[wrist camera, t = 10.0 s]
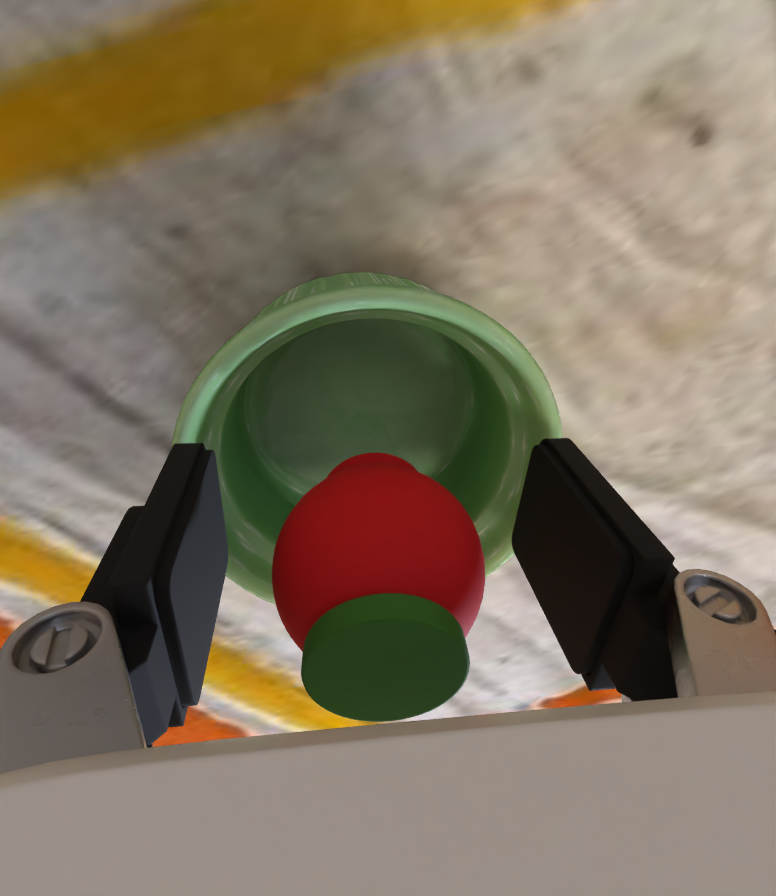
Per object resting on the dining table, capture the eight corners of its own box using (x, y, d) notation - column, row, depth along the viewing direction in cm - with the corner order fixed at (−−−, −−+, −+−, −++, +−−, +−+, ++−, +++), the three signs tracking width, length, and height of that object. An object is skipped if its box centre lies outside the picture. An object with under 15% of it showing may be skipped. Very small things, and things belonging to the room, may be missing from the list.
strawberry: (281, 414, 10) (240, 584, 6) (470, 418, 11) (541, 582, 7) (290, 556, 13) (262, 750, 9) (448, 556, 13) (491, 742, 9)
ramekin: (541, 273, 14) (625, 319, 10) (465, 526, 18) (504, 623, 15) (203, 222, 12) (154, 255, 9) (208, 514, 17) (178, 620, 13)
